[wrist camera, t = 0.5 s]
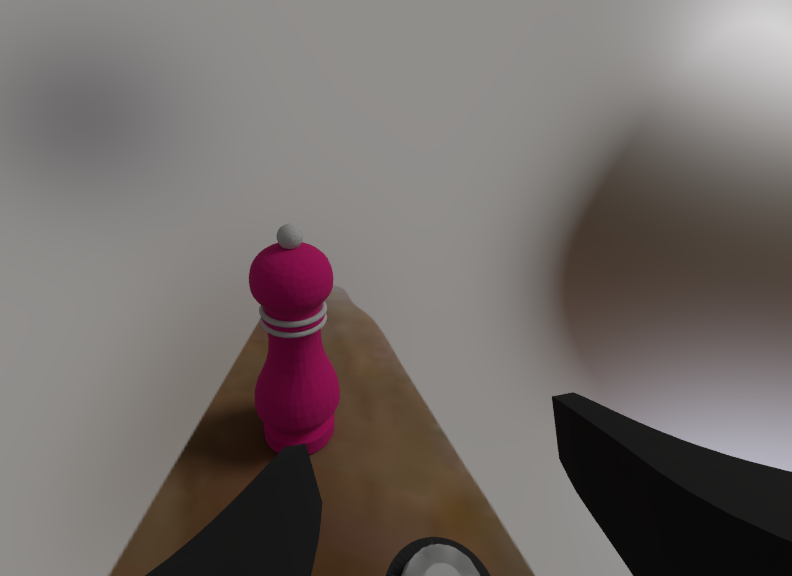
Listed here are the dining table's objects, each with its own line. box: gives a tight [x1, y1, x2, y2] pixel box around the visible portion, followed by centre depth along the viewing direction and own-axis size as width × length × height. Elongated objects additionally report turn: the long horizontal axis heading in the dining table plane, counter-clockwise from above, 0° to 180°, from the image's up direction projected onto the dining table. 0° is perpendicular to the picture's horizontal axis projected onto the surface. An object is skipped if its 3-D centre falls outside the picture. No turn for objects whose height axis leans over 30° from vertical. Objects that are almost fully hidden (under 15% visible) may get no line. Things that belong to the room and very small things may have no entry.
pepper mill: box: [249, 224, 340, 455], centre depth 32 cm, size 7×7×20 cm
